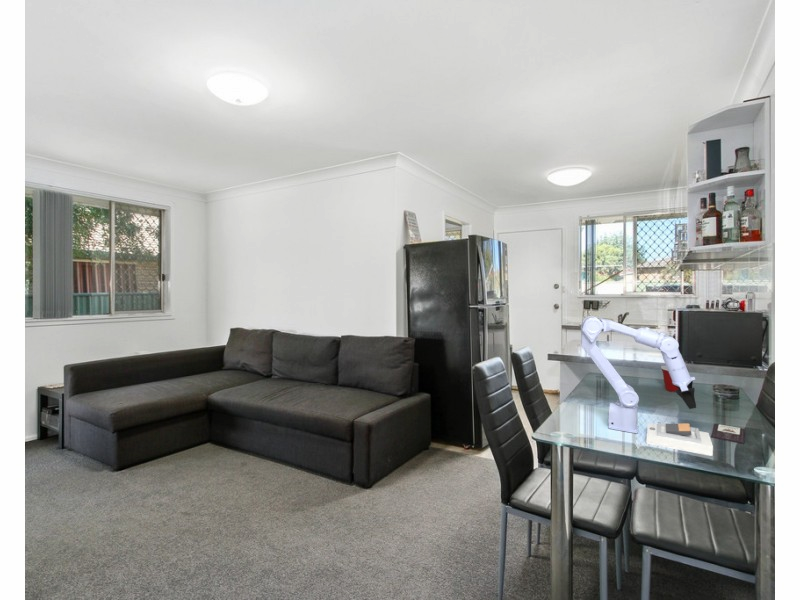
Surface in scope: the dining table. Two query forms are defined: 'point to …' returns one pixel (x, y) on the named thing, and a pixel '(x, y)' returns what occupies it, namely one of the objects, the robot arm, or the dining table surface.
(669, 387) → the plastic cup
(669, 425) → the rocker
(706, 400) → the dining table surface
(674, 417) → the dining table surface
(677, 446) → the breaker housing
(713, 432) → the chocolate bar
